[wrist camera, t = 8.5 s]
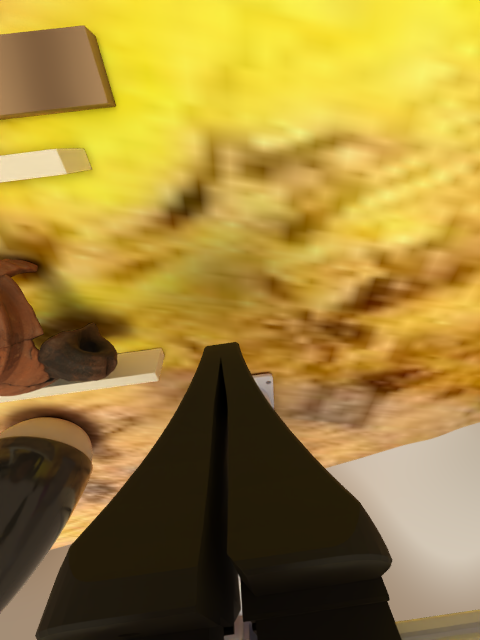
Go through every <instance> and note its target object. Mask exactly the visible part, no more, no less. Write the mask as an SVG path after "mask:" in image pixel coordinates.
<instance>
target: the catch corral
mask: <svg viewBox="0 0 480 640" xmlns="http://www.w3.org/2000/svg"><path fill="white" fill-rule="evenodd" d="M91 169H92V168H91V165H90V163H89V160H88V157H87V155H86V152H85V150H84V149H50V150H43V151H35V152H27V153H19V154H11V155H4V156H0V182H8V181H15V180H23V179H31V178H39V177H46V176H54V175H62V174H69V173H74V172H80V171H85V170H91ZM163 360H164V354H163V351H162V348H158V349H151V350H144V351H136V352H129V353H122V354H117V361H118V364H117V366H116V368H115V370H114V371H113V372H111V373H110V374H109V375H108V376H107V377H106V378H104V379H101V380H97V381H92V380H89V381H66V380H63V379H58V380H57V381H55V382H54V383H52V384H50V385H48V386H46V387H43V388H41V389H39V390H35V391H33V392H29V393H25V394H21V395H16V396H0V403H1V402H8V401H16V400H23V399H30V398H37V397H45V396H52V395H59V394H67V393H74V392H81V391H88V390H96V389H103V388H110V387H118V386H125V385H132V384H139V383H147V382H154V381H159V377H160V373H161V368H162V364H163Z"/></svg>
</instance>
